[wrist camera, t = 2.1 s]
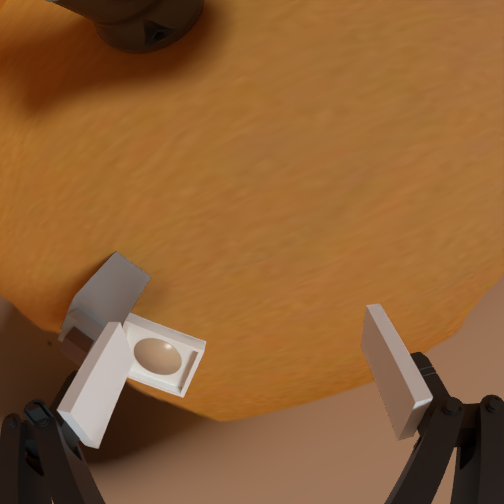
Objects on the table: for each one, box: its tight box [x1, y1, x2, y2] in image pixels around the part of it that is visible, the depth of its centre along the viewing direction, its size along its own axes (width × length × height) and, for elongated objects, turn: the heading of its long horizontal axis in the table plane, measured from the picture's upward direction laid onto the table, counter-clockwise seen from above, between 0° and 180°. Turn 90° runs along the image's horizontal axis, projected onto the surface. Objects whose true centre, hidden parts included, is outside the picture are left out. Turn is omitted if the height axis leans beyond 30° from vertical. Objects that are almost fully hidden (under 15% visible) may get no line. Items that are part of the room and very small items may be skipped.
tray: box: [123, 313, 206, 397], centre depth 50 cm, size 14×14×2 cm
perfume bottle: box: [58, 251, 151, 367], centre depth 37 cm, size 7×7×18 cm
